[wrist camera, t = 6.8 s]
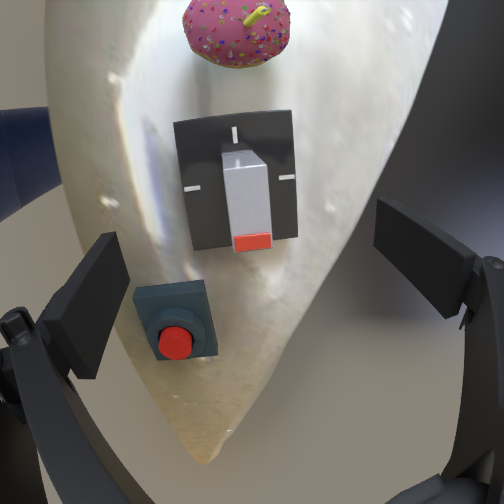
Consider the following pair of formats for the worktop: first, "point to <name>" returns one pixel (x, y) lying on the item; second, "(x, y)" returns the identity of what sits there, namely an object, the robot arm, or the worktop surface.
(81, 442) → the robot arm
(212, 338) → the button box
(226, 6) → the cupcake
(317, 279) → the worktop surface
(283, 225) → the plate
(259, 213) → the hob knob
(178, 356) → the button
